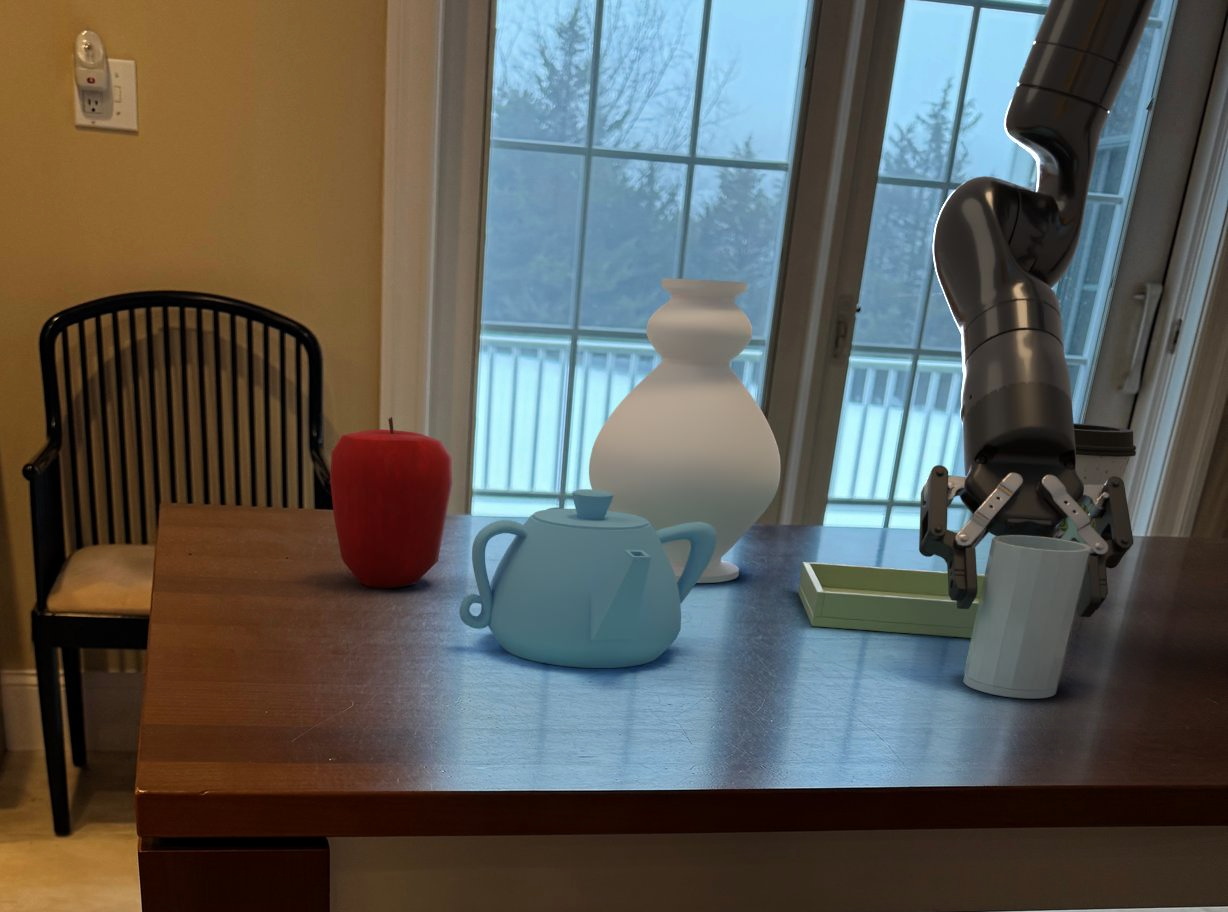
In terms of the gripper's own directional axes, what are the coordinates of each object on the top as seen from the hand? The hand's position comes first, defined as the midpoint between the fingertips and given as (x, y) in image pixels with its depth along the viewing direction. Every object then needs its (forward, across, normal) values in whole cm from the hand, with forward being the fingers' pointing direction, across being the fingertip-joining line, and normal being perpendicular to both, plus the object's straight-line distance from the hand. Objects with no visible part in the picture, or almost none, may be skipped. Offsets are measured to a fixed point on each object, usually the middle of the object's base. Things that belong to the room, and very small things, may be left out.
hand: (1028, 606), depth 97 cm
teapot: (+1, -31, +8) cm, 32 cm away
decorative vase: (-24, -21, +32) cm, 45 cm away
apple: (-14, -47, +22) cm, 54 cm away
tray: (-13, -2, +21) cm, 25 cm away
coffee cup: (-22, +14, +30) cm, 40 cm away
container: (+4, 0, +4) cm, 6 cm away
